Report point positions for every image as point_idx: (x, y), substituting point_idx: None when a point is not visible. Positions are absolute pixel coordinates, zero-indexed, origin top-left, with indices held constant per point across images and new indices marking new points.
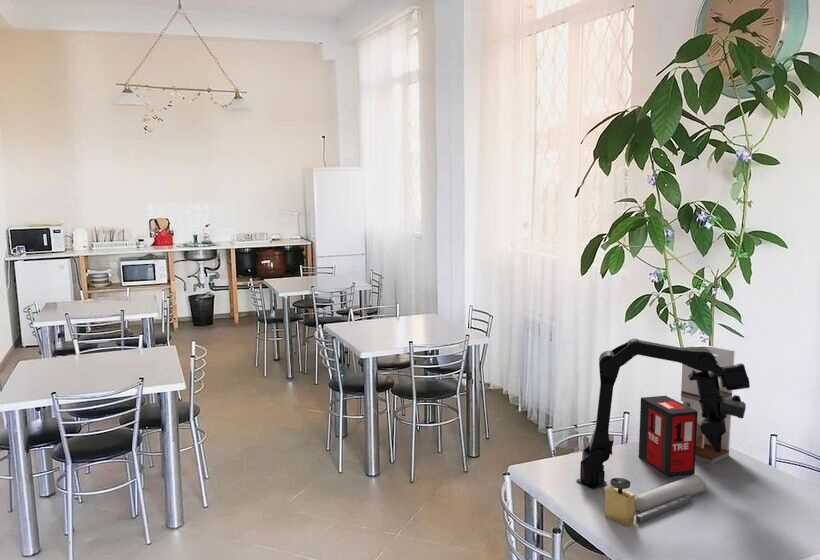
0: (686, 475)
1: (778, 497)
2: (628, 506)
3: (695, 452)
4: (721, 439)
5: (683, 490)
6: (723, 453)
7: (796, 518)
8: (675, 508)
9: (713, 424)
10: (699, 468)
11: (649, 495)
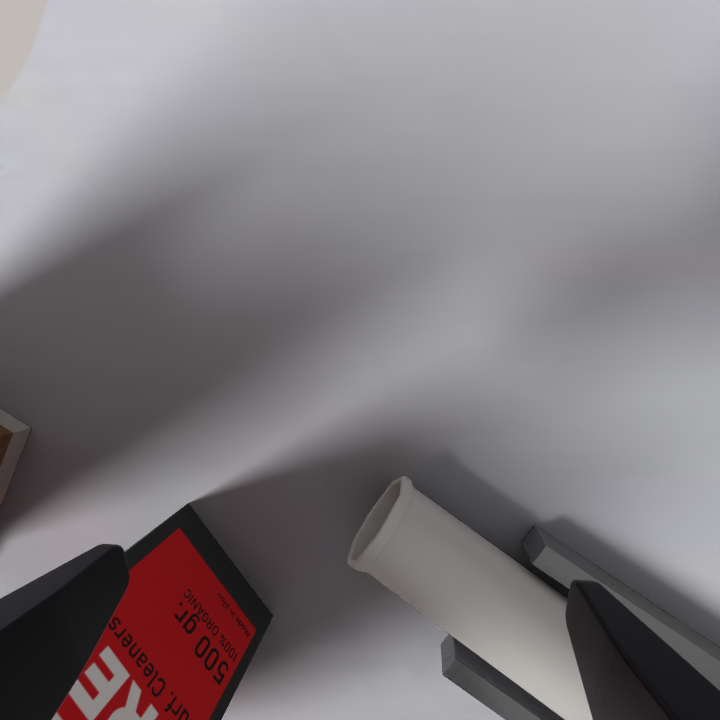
0: (213, 539)
1: (292, 123)
2: None
3: None
4: (113, 548)
5: (556, 609)
6: None
7: (527, 26)
8: (656, 608)
9: None
10: (106, 479)
11: None
